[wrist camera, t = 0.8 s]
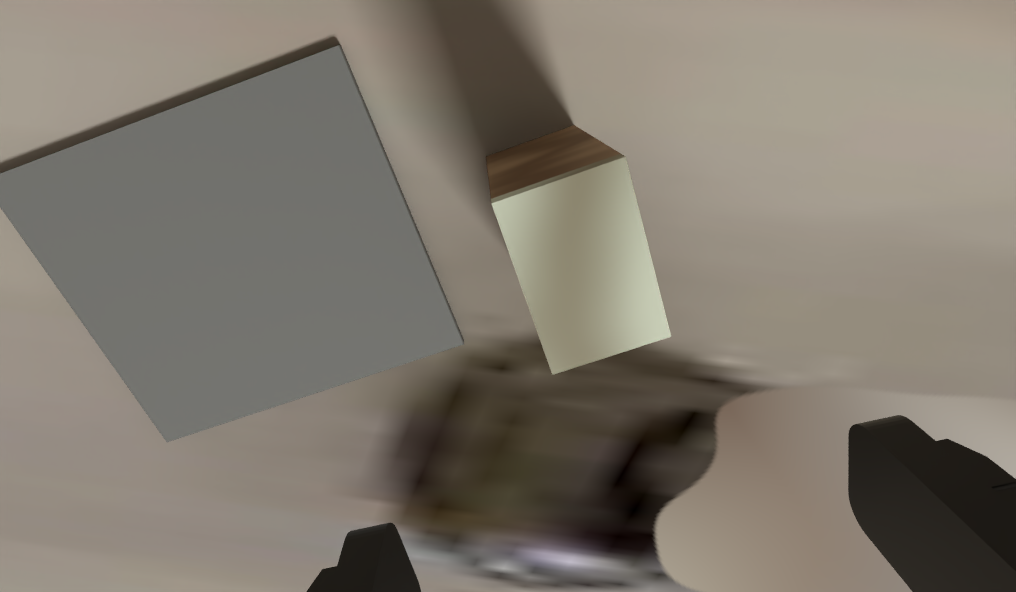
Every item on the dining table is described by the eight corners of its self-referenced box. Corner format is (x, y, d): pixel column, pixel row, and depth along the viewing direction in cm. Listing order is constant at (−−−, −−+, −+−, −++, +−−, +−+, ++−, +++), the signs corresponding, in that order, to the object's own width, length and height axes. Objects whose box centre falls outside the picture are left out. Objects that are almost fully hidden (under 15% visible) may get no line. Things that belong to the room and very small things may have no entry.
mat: (340, 45, 23) (338, 44, 22) (464, 340, 28) (463, 344, 27) (-11, 178, 24) (-19, 180, 23) (170, 437, 29) (166, 442, 29)
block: (574, 125, 24) (625, 156, 16) (609, 251, 26) (671, 336, 18) (486, 156, 24) (491, 203, 16) (528, 278, 27) (552, 374, 18)
